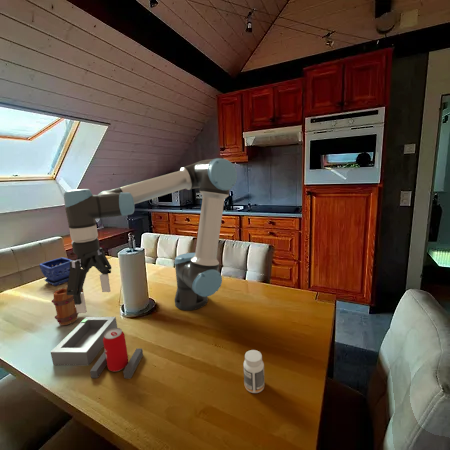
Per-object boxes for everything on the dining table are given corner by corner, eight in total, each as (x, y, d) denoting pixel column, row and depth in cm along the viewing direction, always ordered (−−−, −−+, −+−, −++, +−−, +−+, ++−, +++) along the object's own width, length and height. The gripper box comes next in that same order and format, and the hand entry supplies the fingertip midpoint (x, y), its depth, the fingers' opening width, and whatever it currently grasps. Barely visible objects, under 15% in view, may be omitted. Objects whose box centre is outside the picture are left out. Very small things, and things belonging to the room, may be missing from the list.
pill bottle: (262, 377, 77) (262, 347, 75) (266, 393, 71) (265, 362, 69) (243, 378, 77) (242, 348, 74) (245, 395, 71) (244, 363, 69)
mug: (68, 329, 105) (61, 295, 101) (51, 327, 106) (43, 293, 103) (93, 309, 119) (87, 279, 115) (77, 308, 120) (71, 278, 117)
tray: (117, 328, 104) (115, 316, 103) (88, 365, 85) (85, 351, 83) (88, 328, 105) (86, 316, 104) (53, 365, 85) (50, 351, 84)
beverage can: (122, 356, 88) (117, 324, 85) (132, 364, 84) (127, 331, 82) (104, 367, 83) (98, 334, 81) (114, 376, 80) (108, 342, 77)
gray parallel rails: (143, 354, 88) (142, 348, 88) (130, 378, 78) (129, 371, 78) (107, 354, 89) (106, 348, 89) (91, 378, 79) (89, 370, 79)
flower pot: (77, 279, 154) (74, 260, 151) (53, 288, 143) (49, 267, 140) (65, 275, 161) (62, 256, 158) (42, 283, 150) (37, 264, 147)
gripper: (96, 229, 94) (105, 284, 99) (42, 252, 70) (57, 322, 75) (116, 229, 93) (124, 284, 98) (68, 252, 69) (81, 323, 74)
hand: (95, 301), depth 86 cm, fingers open, 13 cm apart
